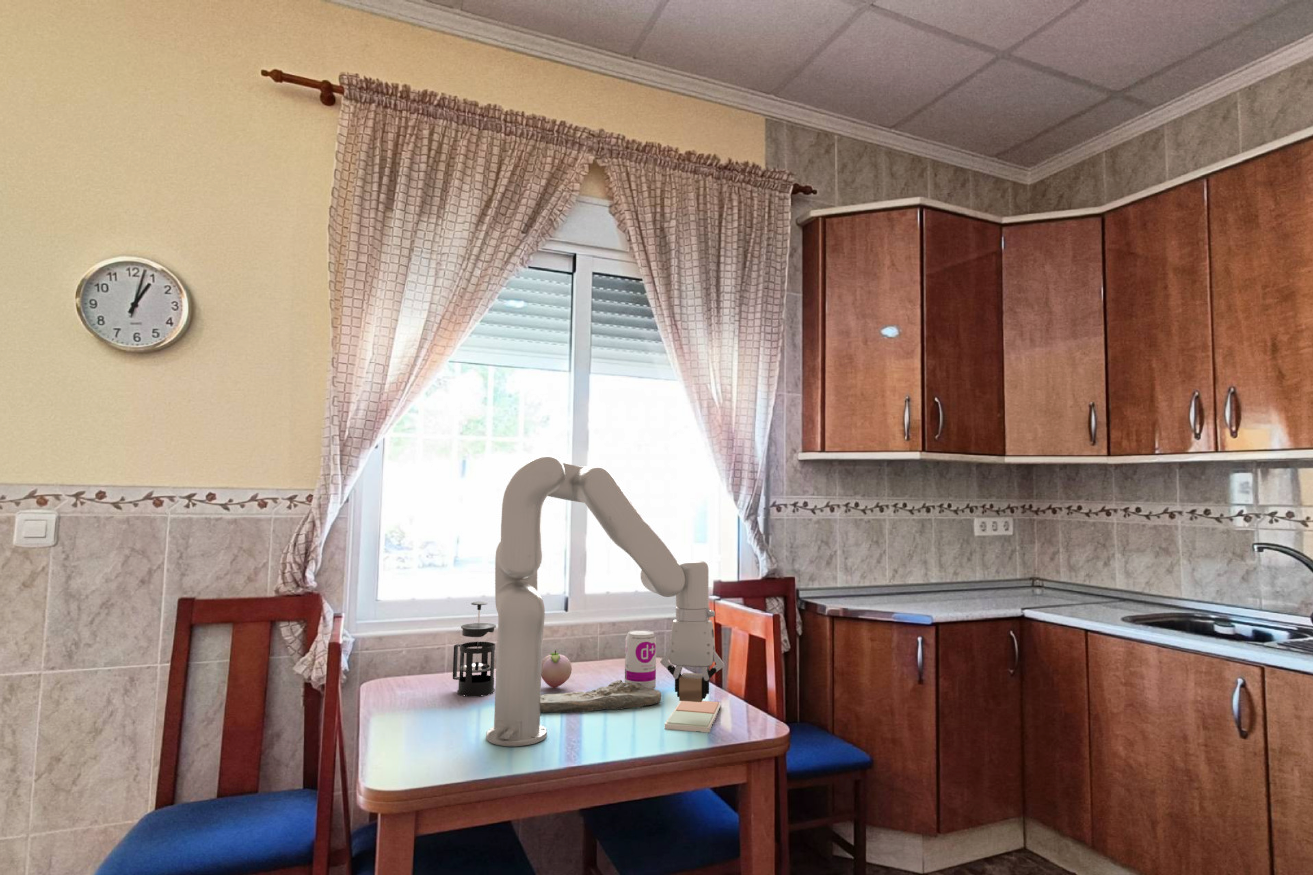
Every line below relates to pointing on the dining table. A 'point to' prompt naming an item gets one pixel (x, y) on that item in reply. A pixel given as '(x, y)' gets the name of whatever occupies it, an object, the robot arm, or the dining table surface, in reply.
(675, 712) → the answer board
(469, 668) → the french press
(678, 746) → the dining table surface
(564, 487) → the robot arm
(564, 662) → the decorative fruit
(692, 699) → the walnut cube
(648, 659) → the supplement can
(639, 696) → the elongated rock
